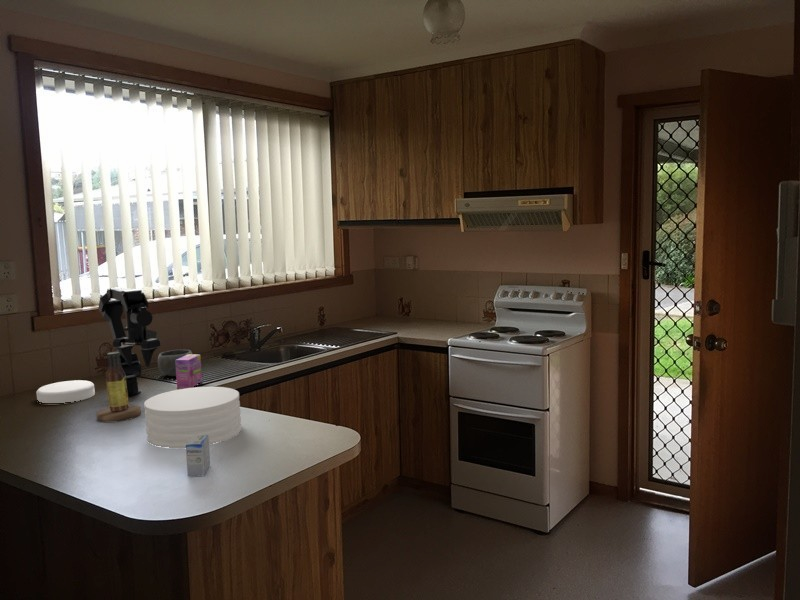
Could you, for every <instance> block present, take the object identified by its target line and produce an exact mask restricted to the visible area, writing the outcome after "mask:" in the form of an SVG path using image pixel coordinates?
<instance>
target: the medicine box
mask: <svg viewBox="0 0 800 600" xmlns="http://www.w3.org/2000/svg"><path fill="white" fill-rule="evenodd" d="M210 455H211V454H210V445H209V438H208V435H193V436H192V437H191V438H190V440H189V441H188V443H187V444H186V449H185V456H186V459H185V460H186V471H187V477H188V476H195V477H199V476H198V475H204V476H206V473H207V471H208V469H209V467H210V465H211V457H210Z"/></svg>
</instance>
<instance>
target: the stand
mask: <svg viewBox="0 0 800 600" xmlns="http://www.w3.org/2000/svg"><path fill="white" fill-rule="evenodd" d="M141 409H142V408H141V406H140V405H138V404H128V409H126V410H124V411H119V412H112V411H110V407H109V406H108V407H105V408H101V409H99V410H97V411H96V419H98V420H100V421H99V422H102V421H117V422H123V421H122V420H124V421H127V419H128V420H132V419H135V418H137V417H139V416H141V414H142V410H141ZM134 417H135V418H134ZM131 418H132V419H131ZM98 420H97V421H98Z"/></svg>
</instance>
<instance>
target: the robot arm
mask: <svg viewBox="0 0 800 600" xmlns="http://www.w3.org/2000/svg"><path fill="white" fill-rule="evenodd" d="M148 308H149V302H148V299H147V296H146V295H145V293H144V292H143V291H142V289H140V288H138V289H126V288H122V287H119V286H118V287H117V286H116V287H109V288H107V290H106V292H105V294H104V295H102V296H101V297H100V298H99V303H98V311H99V313H101V317H102V318H103V319H104V320H105V321H106V322H107V323H108V325H109V327H110V328H109V329H110V332H111V335H112V339H113V341H112V345H113V346H112V347H113V348H115V349H116V352H119V353H120V364H121V366H122V368H123V370H124V372H125V375H126V383H127V393H128V398H129V397H132V396H135V395H138V394H141V393H142V391H140V390H139V382H138V378H141V376H142V366H143V365H142V364H141V362H140V360H139V357H138V354H137V353H135V352H134V353H133V352H132V350H133V347H134V346H139V347H141V349H140V353H141V355H142V359H143V361H144V364H145V367H146V368H148V367H150V366H151V361H152V358H153V355H154V352H155V351H156V350H158V349H159V348H160V347H162V343H161V340H160V338H157V337H158V331H154V330H150V329H148V326H150V325H151V323H152V322H153V315H152V313H151V312H150V311H148V310H147V309H148ZM123 313H125V322H126V327H124V324H123V321H122V315H123ZM126 332H127V334H126Z"/></svg>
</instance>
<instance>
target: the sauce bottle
mask: <svg viewBox="0 0 800 600" xmlns="http://www.w3.org/2000/svg"><path fill="white" fill-rule="evenodd" d="M106 357H107V362H108V363H107V365H108V368H107V370H106V372H105V377H106V378H105V379H106V382H105V383H106V391H107V399H108V407H110V411H112V412H119V411H124V410H126V409H128V404H129V397H128V393H127V383H126V375H125V372H124V370H123V368H122V366H121V364H120V353H119V352H117V351H112V352H111V351H110V352H108V353H106Z"/></svg>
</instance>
